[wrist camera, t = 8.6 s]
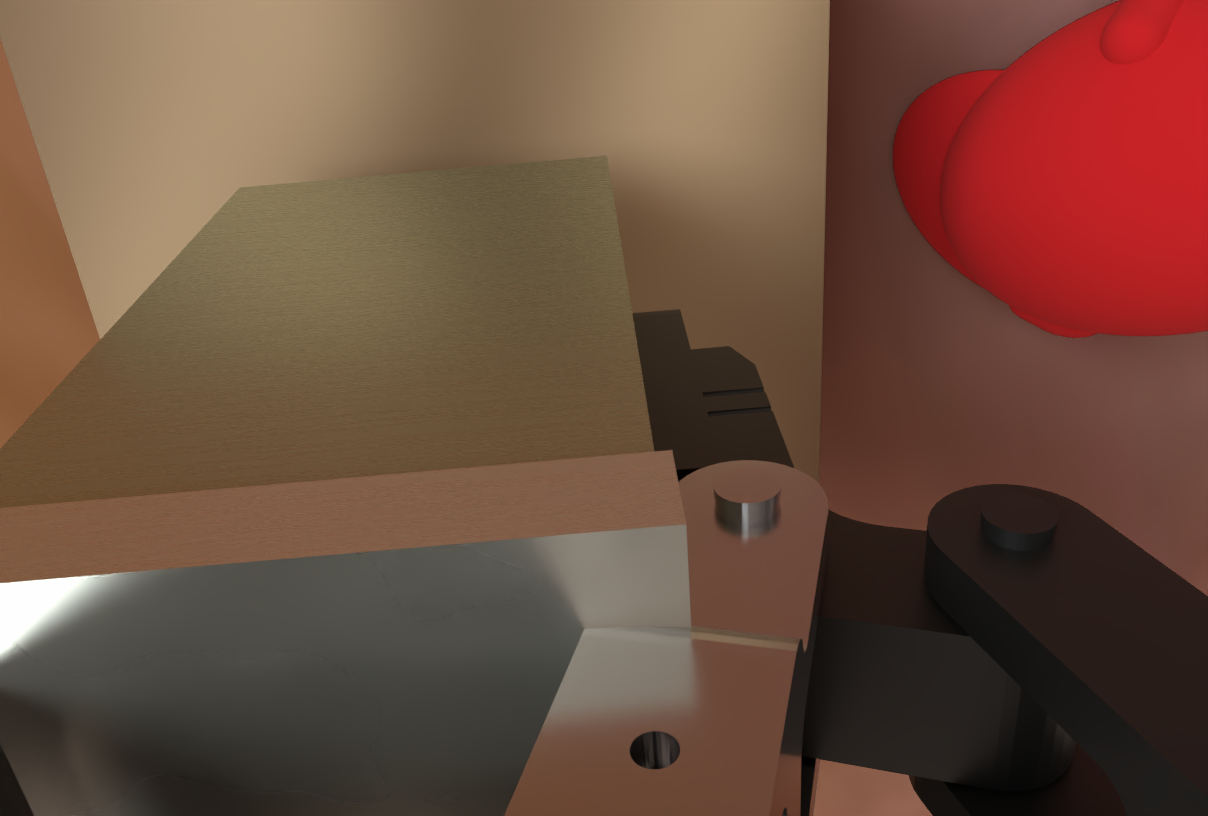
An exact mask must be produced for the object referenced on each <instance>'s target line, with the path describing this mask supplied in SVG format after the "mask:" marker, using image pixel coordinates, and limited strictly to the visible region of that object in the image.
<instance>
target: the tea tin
mask: <svg viewBox="0 0 1208 816" xmlns="http://www.w3.org/2000/svg"><path fill="white" fill-rule="evenodd" d="M621 627H687V628H691V611H690V590H689V570H688V549H687V528H686V520H685V515H684V509H683V504H682V499H681V494H680V488H679V483H678V478H677V473H676V467H675V462H674V457H673V452H672V450H666V451H654V445H653V439H652V433H651V427H650V420H649V414H648V408H647V402H646V396H645V389H644V383H643V377H642V371H641V364H640V358H639V352H638V346H637V339H636V333H635V327H634V321H633V315H632V308H631V302H630V296H629V290H628V283H627V277H626V271H625V265H624V259H623V252H622V246H621V240H620V234H619V227H618V221H617V215H616V209H615V203H614V196H613V190H612V184H611V178H610V171H609V165H608V159H607V156H597V157H585V158H574V159H562V160H551V161H539V162H528V163H516V164H504V165H493V166H481V167H470V168H458V169H447V170H435V171H424V172H412V173H401V174H389V175H378V176H366V177H354V178H343V179H331V180H320V181H308V182H297V183H285V184H274V185H262V186H251V187H240V188H239V189H238V190H237V191H236V192H235V193H234V194H233V195H232V196H231V197H230V199H229V200H228V201H227V202H226V203H225V204H224V205H223V206H222V207H221V208H220V210H219V211H218V212H217V213H216V214H215V215H214V216H213V217H212V218H211V219H210V220H209V222H208V223H207V224H206V225H205V226H204V227H203V228H202V229H201V230H200V231H199V232H198V234H197V235H196V236H195V237H194V238H193V239H192V240H191V241H190V242H189V243H188V244H187V246H186V247H185V248H184V249H183V250H182V251H181V252H180V253H179V254H178V255H177V256H176V258H175V259H174V260H173V261H172V262H171V263H170V264H169V265H168V266H167V267H166V268H165V270H164V271H163V272H162V273H161V274H160V275H159V276H158V277H157V278H156V279H155V280H154V282H153V283H152V284H151V285H150V286H149V287H148V288H147V289H146V290H145V291H144V292H143V294H142V295H141V296H140V297H139V298H138V299H137V300H136V301H135V302H134V303H133V304H132V306H131V307H130V308H129V309H128V310H127V311H126V312H125V313H124V314H123V315H122V316H121V318H120V319H119V320H118V321H117V322H116V323H115V324H114V325H113V326H112V327H111V329H110V330H109V331H108V332H107V333H106V334H105V335H104V336H103V337H102V338H101V339H100V341H99V342H98V343H97V344H96V345H95V346H94V347H93V348H92V349H91V350H90V351H89V353H88V354H87V355H86V356H85V357H84V358H83V359H82V360H81V361H80V362H79V363H78V365H77V366H76V367H75V368H74V369H73V370H72V371H71V372H70V373H69V374H68V375H67V377H66V378H65V379H64V380H63V381H62V382H61V383H60V384H59V385H58V386H57V387H56V389H55V390H54V391H53V392H52V393H51V394H50V395H49V396H48V397H47V398H46V399H45V401H44V402H43V403H42V404H41V405H40V406H39V407H38V408H37V409H36V410H35V411H34V413H33V414H32V415H31V416H30V417H29V418H28V419H27V420H26V421H25V422H24V423H23V425H22V426H21V427H20V428H19V429H18V430H17V431H16V432H15V433H14V434H13V435H12V437H11V438H10V439H9V440H8V441H7V442H6V443H5V444H4V445H3V446H2V448H1V449H0V744H1V746H2V748H3V750H4V753H5V755H6V757H7V759H8V761H9V763H10V765H11V767H12V770H13V772H14V774H15V776H16V778H17V780H18V782H19V784H20V787H21V789H22V791H23V793H24V795H25V797H26V799H27V801H28V803H29V806H30V808H31V810H32V812H33V814H34V816H504V815H505V813H506V810H507V808H508V806H509V803H510V801H511V799H512V796H513V794H514V792H515V789H516V787H517V785H518V782H519V780H520V778H521V775H522V773H523V771H524V768H525V766H526V764H527V761H528V759H529V757H530V754H531V752H532V750H533V747H534V745H535V743H536V740H537V738H538V736H539V733H540V731H541V729H542V726H543V724H544V722H545V719H546V717H547V715H548V712H549V710H550V708H551V705H552V703H553V701H554V699H555V696H556V694H557V692H558V689H559V687H560V685H561V682H562V680H563V678H564V675H565V673H566V671H567V668H568V666H569V664H570V661H571V659H572V657H573V654H574V652H575V650H576V647H577V645H578V643H579V640H580V638H581V636H582V633H583V631H584V629H595V628H621Z"/></svg>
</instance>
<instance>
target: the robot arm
mask: <svg viewBox="0 0 1208 816" xmlns="http://www.w3.org/2000/svg"><path fill="white" fill-rule="evenodd" d="M632 315H633V321H634V327H635V333H636V339H637V346H638V352H639V358H640V364H641V371H642V377H643V383H644V389H645V396H646V402H647V408H648V414H649V420H650V427H651V433H652V439H653V445H654V451H666V450H672V452H673V457H674V462H675V467H676V473H677V478H678V483H679V488H680V494H681V499H682V504H683V509H684V515H685V520H686V528H687V549H688V570H689V590H690V611H691V628H687V627H621V628H595V629H584V631H583V633H582V636H581V638H580V640H579V643H578V645H577V647H576V650H575V652H574V654H573V657H572V659H571V661H570V664H569V666H568V668H567V671H566V673H565V675H564V678H563V680H562V682H561V685H560V687H559V689H558V692H557V694H556V696H555V699H554V701H553V703H552V705H551V708H550V710H549V712H548V715H547V717H546V719H545V722H544V724H543V726H542V729H541V731H540V733H539V736H538V738H537V740H536V743H535V745H534V747H533V750H532V752H531V754H530V757H529V759H528V761H527V764H526V766H525V768H524V771H523V773H522V775H521V778H520V780H519V782H518V785H517V787H516V789H515V792H514V794H513V796H512V799H511V801H510V803H509V806H508V808H507V810H506V813H505V815H504V816H813V813H814V805H815V797H816V789H817V781H818V773H819V764H820V759H822V760H827V761H833V762H839V763H844V764H850V765H855V766H861V767H867V768H872V769H878V770H884V771H889V772H895V773H900V774H906V775H909V778H910V781H911V784H912V786H913V789H914V790H915V792H916V793H917V795H918V796H919V798H920V799H921V801H922V802H923V803H924V805H925V806H926V807H927V809H928V810H929V811H930V812H931V814H932V815H933V816H1208V596H1206V595H1205V594H1204V593H1202V592H1201V591H1200V590H1198V589H1197V588H1195V587H1194V586H1193V585H1191V584H1190V583H1189V582H1187V581H1186V580H1184V579H1183V578H1182V577H1180V576H1179V575H1177V574H1176V573H1175V572H1173V571H1172V570H1171V569H1169V568H1168V567H1166V566H1165V565H1164V564H1162V563H1161V562H1160V561H1158V560H1157V559H1155V558H1154V557H1153V556H1151V555H1150V554H1148V553H1147V552H1146V551H1144V550H1143V549H1142V548H1140V547H1139V546H1137V545H1136V544H1135V543H1133V542H1132V541H1131V540H1129V539H1128V538H1126V537H1125V536H1124V535H1122V534H1121V533H1119V532H1118V531H1117V530H1115V529H1114V528H1113V527H1111V526H1110V525H1108V524H1107V523H1106V522H1104V521H1103V520H1102V519H1100V518H1099V517H1097V516H1096V515H1095V514H1093V513H1092V512H1090V511H1089V510H1088V509H1086V508H1084V507H1083V506H1081V505H1080V504H1078V503H1076V502H1074V501H1072V500H1070V499H1068V498H1066V497H1063V496H1060V495H1058V494H1055V493H1052V492H1049V491H1045V490H1041V489H1037V488H1032V487H1026V486H1020V485H1008V484H991V485H981V486H974V487H970V488H965V489H962V490H959V491H956V492H953V493H951V494H949V495H948V496H946V497H944V498H943V499H941V500H940V501H939V502H938V503H936V505H935V506H934V507H933V508H932V510H931V512H930V514H929V517H928V525H927V531H922V530H913V529H904V528H895V527H886V526H879V525H872V524H867V523H863V522H859V521H855V520H852V519H849V518H846V517H843V516H840V515H838V514H836V513H834V512H832V511H830V510H828V498H827V495H826V492H825V491H824V489H823V488H822V486H821V485H820V484H819V483H818V482H817V481H816V480H815V479H813V478H812V477H810V476H809V475H807V474H806V473H804V472H801V471H799V470H797V469H795V468H794V465H793V463H792V460H791V458H790V455H789V452H788V450H787V447H786V444H785V442H784V439H783V436H782V434H781V431H780V429H779V426H778V423H777V421H776V418H775V415H774V413H773V411H771V405H770V402H769V400H768V397H767V394H766V392H764V387H763V384H762V381H761V379H760V376H759V373H758V371H757V368H756V365H755V364H754V363H752V362H751V361H750V360H748V359H747V358H745V357H744V356H743V355H741V354H740V353H738V352H737V351H736V350H734V349H733V348H731V347H730V346H724V347H713V348H701V349H691V348H690V345H689V341H688V337H687V333H686V329H685V326H684V322H683V318H682V314H681V311H680V309H675V310H663V311H651V312H640V313H632ZM0 816H34V814H33V812H32V810H31V808H30V806H29V803H28V801H27V799H26V797H25V795H24V793H23V791H22V789H21V787H20V784H19V782H18V780H17V778H16V776H15V774H14V772H13V770H12V767H11V765H10V763H9V761H8V759H7V757H6V755H5V753H4V750H3V748H2V746H1V744H0Z"/></svg>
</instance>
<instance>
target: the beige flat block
mask: <svg viewBox="0 0 1208 816" xmlns="http://www.w3.org/2000/svg"><path fill="white" fill-rule="evenodd" d="M829 17H830V0H0V38H1V41H2V44H3V47H4V50H5V53H6V56H7V59H8V62H9V65H10V68H11V71H12V74H13V77H14V80H15V83H16V86H17V89H18V92H19V95H20V98H21V101H22V104H23V107H24V110H25V113H26V116H27V119H28V122H29V125H30V128H31V131H32V134H33V137H34V140H35V143H36V146H37V149H38V152H39V155H40V159H41V162H42V165H43V168H44V171H45V174H46V177H47V180H48V183H49V186H50V189H51V192H52V195H53V198H54V201H55V204H56V207H57V210H58V213H59V216H60V219H61V222H62V225H63V228H64V231H65V234H66V237H67V240H68V243H69V246H70V249H71V252H72V255H73V258H74V261H75V264H76V267H77V270H78V273H79V276H80V279H81V282H82V285H83V288H84V291H85V294H86V297H87V301H88V304H89V307H90V310H91V313H92V316H93V319H94V322H95V325H96V328H97V331H98V334H99V337H100V339H101V338H102V337H103V336H104V335H105V334H106V333H107V332H108V331H109V330H110V329H111V327H112V326H113V325H114V324H115V323H116V322H117V321H118V320H119V319H120V318H121V316H122V315H123V314H124V313H125V312H126V311H127V310H128V309H129V308H130V307H131V306H132V304H133V303H134V302H135V301H136V300H137V299H138V298H139V297H140V296H141V295H142V294H143V292H144V291H145V290H146V289H147V288H148V287H149V286H150V285H151V284H152V283H153V282H154V280H155V279H156V278H157V277H158V276H159V275H160V274H161V273H162V272H163V271H164V270H165V268H166V267H167V266H168V265H169V264H170V263H171V262H172V261H173V260H174V259H175V258H176V256H177V255H178V254H179V253H180V252H181V251H182V250H183V249H184V248H185V247H186V246H187V244H188V243H189V242H190V241H191V240H192V239H193V238H194V237H195V236H196V235H197V234H198V232H199V231H200V230H201V229H202V228H203V227H204V226H205V225H206V224H207V223H208V222H209V220H210V219H211V218H212V217H213V216H214V215H215V214H216V213H217V212H218V211H219V210H220V208H221V207H222V206H223V205H224V204H225V203H226V202H227V201H228V200H229V199H230V197H231V196H232V195H233V194H234V193H235V192H236V191H237V190H238V189H239V188H240V187H251V186H262V185H274V184H285V183H297V182H308V181H320V180H331V179H343V178H354V177H366V176H378V175H389V174H401V173H412V172H424V171H435V170H447V169H458V168H470V167H481V166H493V165H504V164H516V163H528V162H539V161H551V160H562V159H574V158H585V157H597V156H607V159H608V165H609V171H610V178H611V184H612V190H613V196H614V203H615V209H616V215H617V221H618V227H619V234H620V240H621V246H622V252H623V259H624V265H625V271H626V277H627V283H628V290H629V296H630V302H631V308H632V313H640V312H651V311H663V310H675V309H680V311H681V314H682V318H683V322H684V326H685V329H686V333H687V337H688V341H689V345H690V348H691V349H701V348H713V347H724V346H730V347H731V348H733V349H734V350H736V351H737V352H738V353H740V354H741V355H743V356H744V357H745V358H747V359H748V360H750V361H751V362H752V363H754V364H755V365H756V368H757V371H758V373H759V376H760V379H761V381H762V384H763V387H764V392H766V394H767V397H768V400H769V402H770V405H771V411H773V413H774V415H775V418H776V421H777V423H778V426H779V429H780V431H781V434H782V436H783V439H784V442H785V444H786V447H787V450H788V452H789V455H790V458H791V460H792V463H793V465H794V468H795V469H797V470H799V471H801V472H804V473H806V474H807V475H809V476H810V477H812V478H813V479H815V480H816V481H817V482H818V483H819V471H820V426H821V380H822V335H823V289H824V244H825V198H826V153H827V107H828V62H829Z"/></svg>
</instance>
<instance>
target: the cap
mask: <svg viewBox="0 0 1208 816" xmlns="http://www.w3.org/2000/svg"><path fill="white" fill-rule="evenodd" d="M893 167H894V174H895V179H896V183H897V187H898V190H899V193H900V196H901V198H902V201H903V203H904V205H905V207H906V209H907V211H908V213H909V215H910V217H911V218H912V220H913V222H914V223H915V225H916V226H917V228H918V229H919V231H920V232H921V233H922V235H923V236H924V237H925V239H926V240H927V241H928V242H929V243H930V245H931V246H932V247H933V248H934V249H935V250H936V251H937V252H938V253H939V254H940V255H941V256H942V257H943V258H944V259H945V260H946V261H947V262H948V263H949V264H951V265H952V266H953V267H954V268H955V269H957V270H958V271H959V272H960V273H962V274H963V275H964V276H966V277H967V278H969V279H970V280H971V281H973V282H975V283H976V284H978V285H979V286H981V287H983V288H984V289H986V290H988V291H989V292H990V293H992V294H993V295H994V296H996V297H997V298H999V299H1000V300H1002V301H1003V302H1005V303H1007V304H1008V305H1009V306H1010V309H1011V310H1012V312H1014V313H1015V314H1016V315H1017V316H1019V317H1020V318H1022V319H1024V320H1026V321H1028V322H1030V323H1032V324H1033V325H1035V326H1037V327H1039V328H1041V329H1043V330H1045V331H1047V332H1049V333H1052V334H1055V335H1060V336H1064V337H1070V338H1080V337H1088V336H1091V335H1094V334H1097V333H1101V334H1110V335H1124V336H1163V335H1177V334H1188V333H1195V332H1202V331H1208V0H1119V1H1117V2H1114V3H1112V4H1110V5H1107V6H1105V7H1103V8H1100V9H1098V10H1096V11H1094V12H1092V13H1090V14H1088V15H1086V16H1084V17H1081V18H1079V19H1077V20H1076V21H1074V22H1072V23H1070V24H1069V25H1067V26H1065V27H1063V28H1061V29H1060V30H1058V31H1056V32H1055V33H1053V34H1052V35H1050V36H1049V37H1047V38H1045V39H1044V40H1042V41H1041V42H1040V43H1038V44H1037V45H1035V46H1034V47H1033V48H1031V49H1030V50H1028V51H1027V52H1026V53H1024V54H1023V55H1022V56H1021V57H1020V58H1018V59H1017V60H1016V61H1015V62H1013V63H1012V64H1011V65H1010V66H1009V67H1008V68H1007V69H1006V70H981V71H973V72H968V73H963V74H959V75H956V76H953V77H950V78H948V79H945V80H943V81H941V82H939V83H937V84H935V85H933V86H932V87H930V88H929V89H927V90H926V91H925V92H923V93H922V94H921V95H920V96H919V97H918V98H917V99H916V100H914V102H913V103H912V104H911V105H910V106H909V108H908V109H907V111H906V112H905V114H904V115H903V117H902V119H901V121H900V124H899V126H898V128H897V132H896V135H895V140H894V147H893Z"/></svg>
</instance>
